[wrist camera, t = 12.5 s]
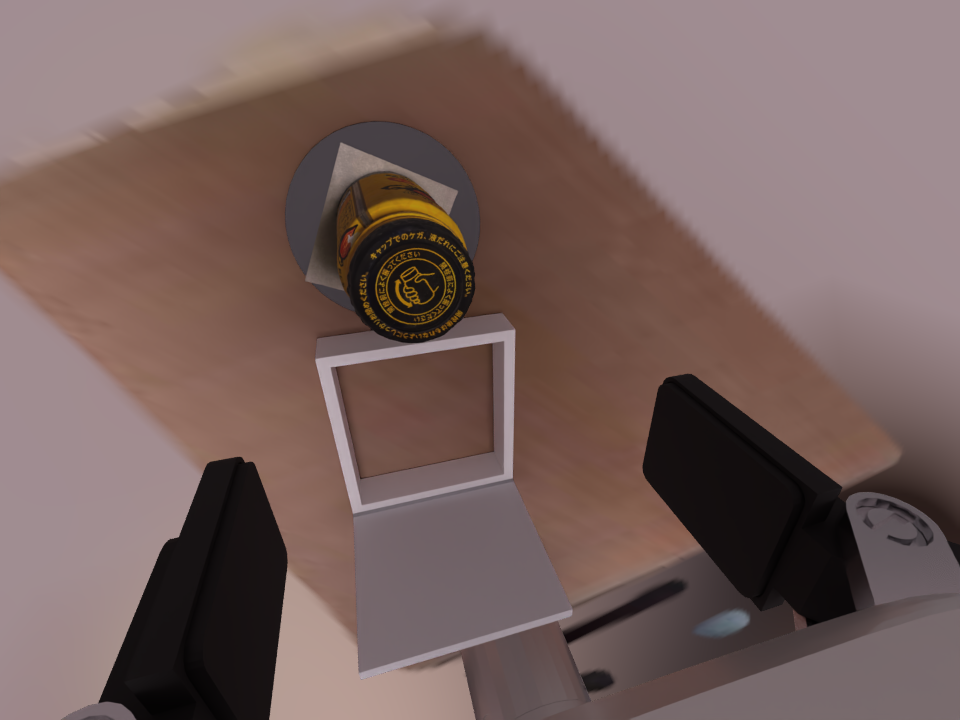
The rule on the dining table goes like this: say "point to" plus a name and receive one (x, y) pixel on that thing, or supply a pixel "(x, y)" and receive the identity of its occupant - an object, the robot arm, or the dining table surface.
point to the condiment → (393, 249)
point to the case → (441, 524)
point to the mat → (388, 145)
